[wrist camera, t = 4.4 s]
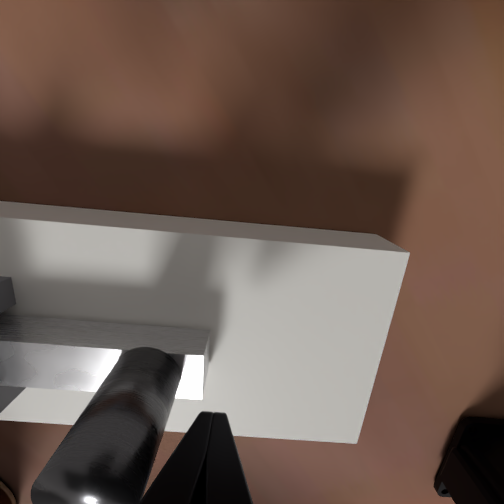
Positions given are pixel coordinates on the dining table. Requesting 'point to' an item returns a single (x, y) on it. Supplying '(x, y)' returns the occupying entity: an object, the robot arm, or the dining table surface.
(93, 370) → the bolt
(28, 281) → the door lock board
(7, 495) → the coffee cup
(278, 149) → the dining table surface
